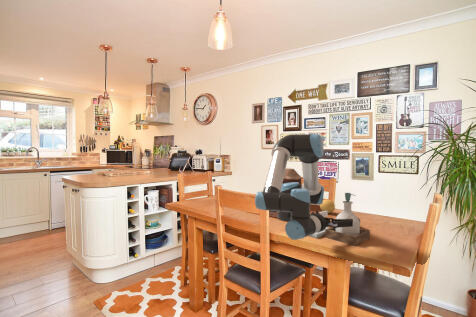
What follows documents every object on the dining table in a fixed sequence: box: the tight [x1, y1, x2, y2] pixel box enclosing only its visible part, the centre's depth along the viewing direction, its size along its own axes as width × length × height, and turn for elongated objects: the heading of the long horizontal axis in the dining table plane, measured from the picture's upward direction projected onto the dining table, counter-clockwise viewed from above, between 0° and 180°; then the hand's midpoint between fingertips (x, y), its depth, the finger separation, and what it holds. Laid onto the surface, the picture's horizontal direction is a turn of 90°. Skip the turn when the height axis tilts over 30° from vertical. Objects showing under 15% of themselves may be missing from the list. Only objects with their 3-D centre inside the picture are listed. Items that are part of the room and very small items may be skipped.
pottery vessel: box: [283, 167, 303, 185], centre depth 204 cm, size 26×26×30 cm
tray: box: [308, 226, 329, 239], centre depth 137 cm, size 15×15×2 cm
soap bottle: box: [335, 192, 361, 236], centre depth 127 cm, size 10×10×23 cm
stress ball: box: [319, 198, 336, 215], centre depth 178 cm, size 10×10×10 cm
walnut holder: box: [324, 226, 371, 247], centre depth 127 cm, size 15×15×4 cm
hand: (339, 216), depth 121 cm, fingers open, 13 cm apart
